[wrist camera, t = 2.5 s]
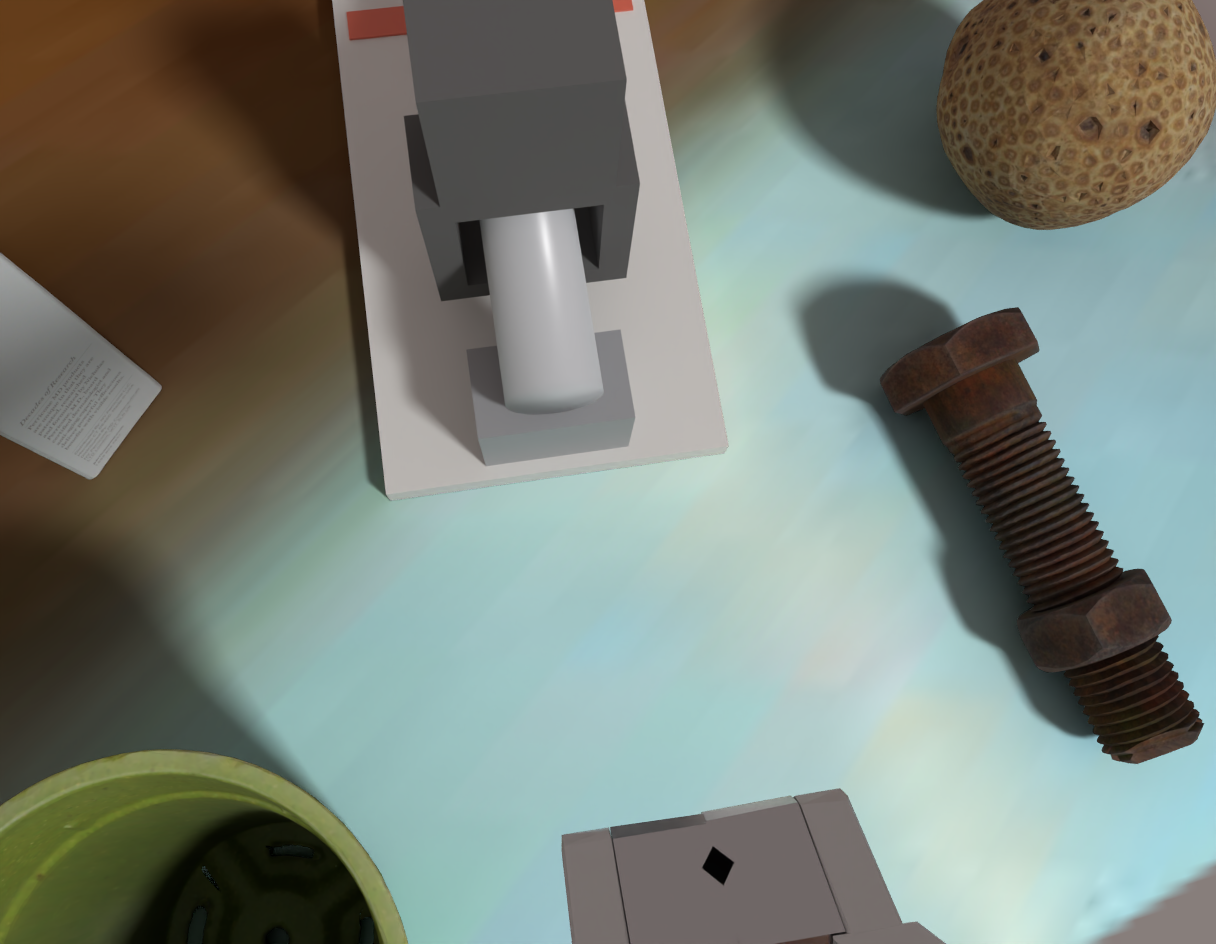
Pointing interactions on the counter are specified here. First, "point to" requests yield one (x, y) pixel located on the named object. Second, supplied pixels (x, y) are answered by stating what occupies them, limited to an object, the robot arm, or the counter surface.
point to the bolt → (1049, 536)
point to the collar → (518, 129)
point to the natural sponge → (1074, 104)
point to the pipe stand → (522, 303)
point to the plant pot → (181, 857)
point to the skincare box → (63, 379)
